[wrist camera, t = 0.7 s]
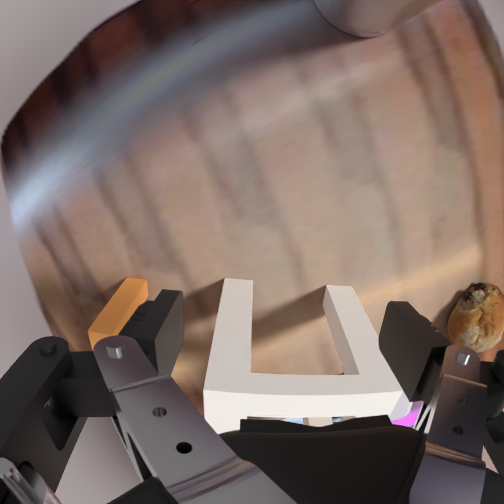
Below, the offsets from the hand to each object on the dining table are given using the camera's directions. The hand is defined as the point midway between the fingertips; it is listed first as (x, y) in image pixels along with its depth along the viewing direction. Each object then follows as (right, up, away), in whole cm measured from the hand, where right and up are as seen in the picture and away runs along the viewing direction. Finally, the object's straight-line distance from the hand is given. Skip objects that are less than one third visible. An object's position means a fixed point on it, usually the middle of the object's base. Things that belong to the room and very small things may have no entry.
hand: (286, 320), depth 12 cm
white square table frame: (+2, -9, +25) cm, 27 cm away
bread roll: (+30, -6, +24) cm, 39 cm away
